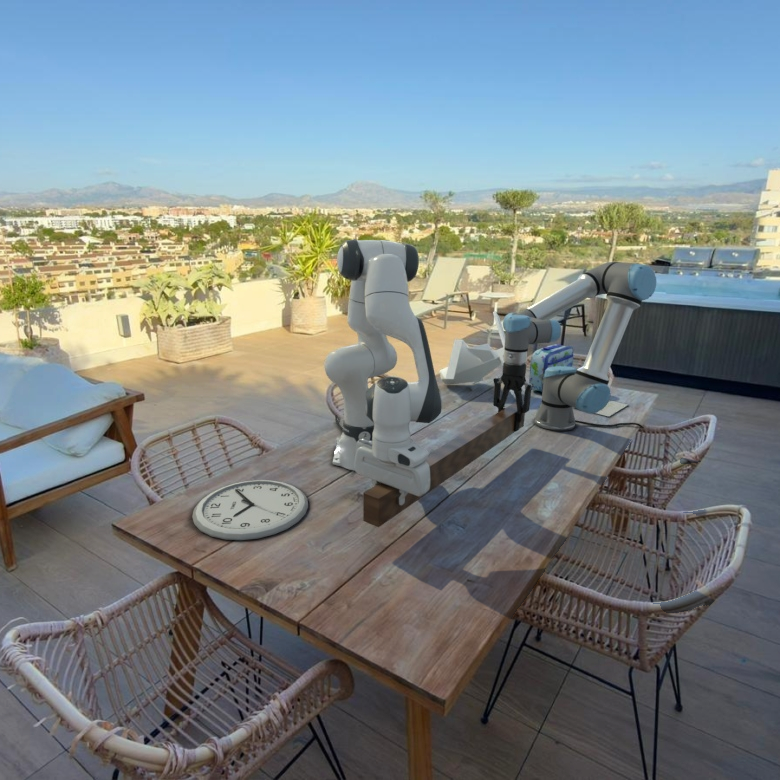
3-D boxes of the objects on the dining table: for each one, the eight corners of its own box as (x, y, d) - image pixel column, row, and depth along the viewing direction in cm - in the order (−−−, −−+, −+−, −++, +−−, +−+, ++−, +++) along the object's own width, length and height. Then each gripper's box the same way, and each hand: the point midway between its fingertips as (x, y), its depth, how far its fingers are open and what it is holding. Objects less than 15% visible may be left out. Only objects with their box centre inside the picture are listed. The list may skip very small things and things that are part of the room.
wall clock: (304, 532, 127) (176, 536, 124) (304, 538, 127) (177, 542, 125) (311, 475, 155) (207, 478, 153) (311, 480, 156) (208, 483, 153)
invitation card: (608, 416, 214) (573, 407, 224) (608, 416, 214) (573, 408, 224) (628, 404, 229) (594, 396, 238) (628, 405, 229) (594, 397, 238)
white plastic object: (461, 429, 252) (437, 405, 227) (444, 352, 274) (420, 323, 250) (535, 404, 240) (518, 377, 215) (510, 326, 262) (492, 293, 237)
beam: (511, 422, 186) (513, 403, 184) (523, 425, 184) (525, 405, 182) (363, 521, 122) (363, 492, 120) (378, 527, 120) (378, 498, 118)
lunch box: (545, 397, 238) (550, 352, 231) (524, 391, 245) (529, 348, 239) (572, 386, 255) (578, 344, 249) (552, 381, 262) (557, 340, 256)
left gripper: (348, 440, 125) (349, 491, 129) (419, 463, 114) (417, 519, 118) (365, 432, 130) (365, 482, 134) (435, 453, 118) (432, 507, 123)
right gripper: (485, 360, 175) (480, 425, 182) (535, 369, 164) (529, 438, 171) (495, 356, 180) (490, 419, 187) (545, 364, 170) (538, 431, 177)
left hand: (390, 499), depth 126 cm, fingers closed on beam, 4 cm apart
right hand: (509, 428), depth 179 cm, fingers closed on beam, 5 cm apart
